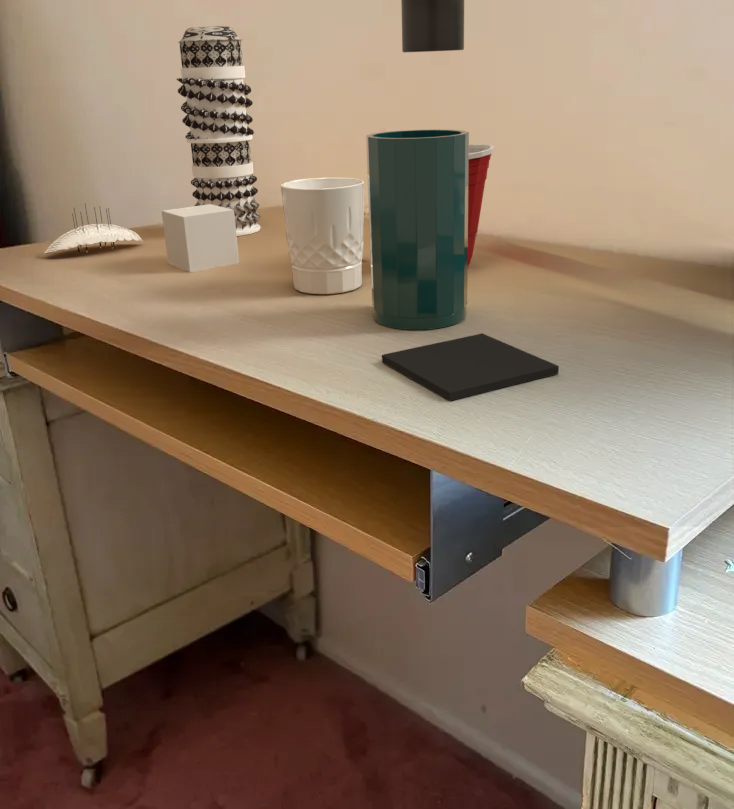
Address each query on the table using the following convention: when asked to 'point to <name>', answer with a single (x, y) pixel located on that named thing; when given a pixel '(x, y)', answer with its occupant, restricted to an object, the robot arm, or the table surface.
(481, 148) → the plastic cup
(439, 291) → the tumbler
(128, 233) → the pincushion
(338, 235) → the white cup
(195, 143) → the bracelet display stand
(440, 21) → the bottle brush
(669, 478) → the table surface
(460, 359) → the mat
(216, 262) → the off-white cube
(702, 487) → the table surface
